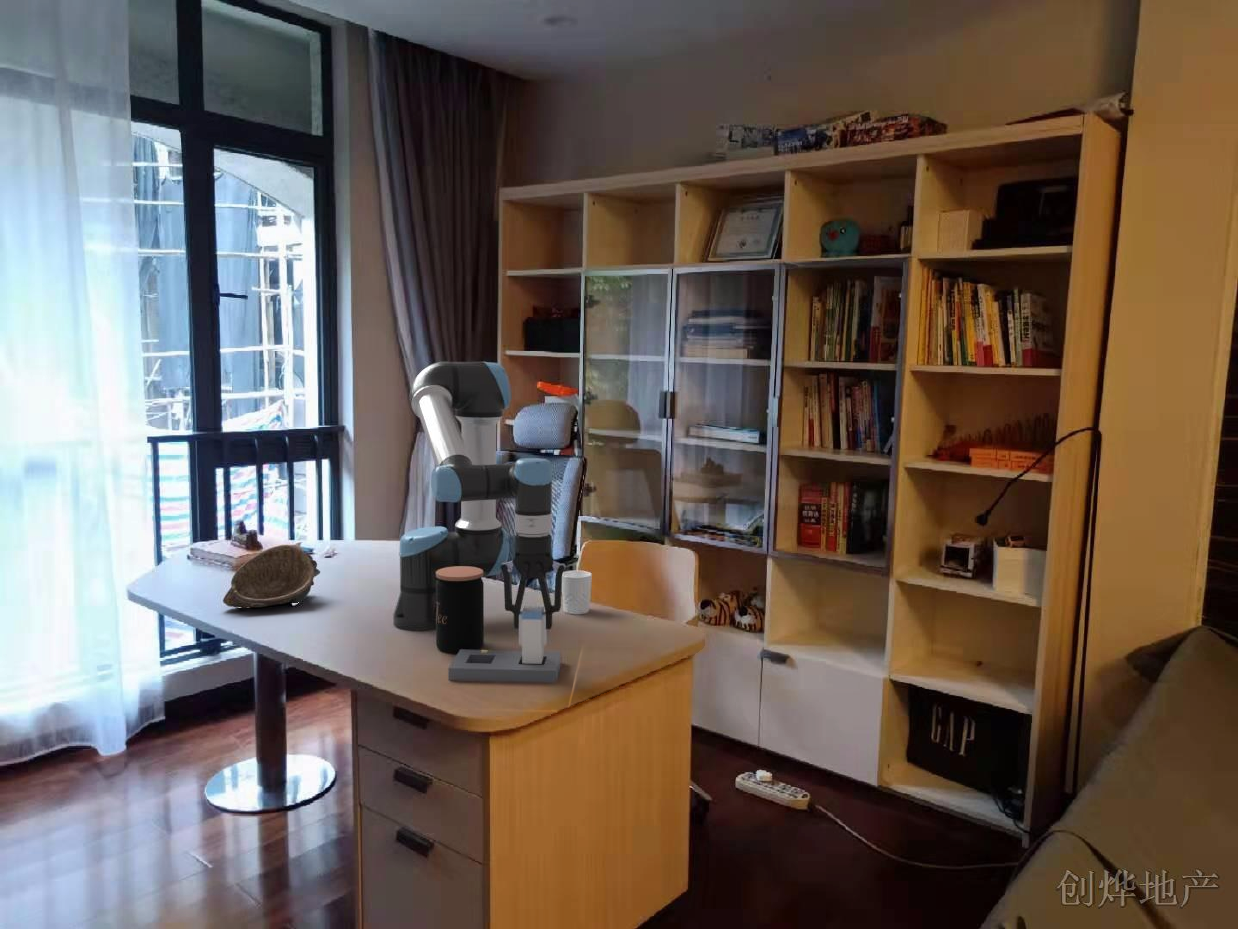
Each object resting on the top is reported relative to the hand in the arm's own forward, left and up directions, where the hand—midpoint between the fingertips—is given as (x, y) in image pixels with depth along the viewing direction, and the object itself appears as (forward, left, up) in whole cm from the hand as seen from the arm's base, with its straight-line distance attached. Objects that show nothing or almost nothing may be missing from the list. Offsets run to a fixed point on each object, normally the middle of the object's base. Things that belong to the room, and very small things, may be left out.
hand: (533, 643), depth 191 cm
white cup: (+5, +49, -7) cm, 49 cm away
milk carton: (0, 0, -4) cm, 4 cm away
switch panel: (-6, 0, -7) cm, 9 cm away
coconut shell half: (-73, +47, -7) cm, 87 cm away
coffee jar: (-19, +16, -7) cm, 25 cm away
